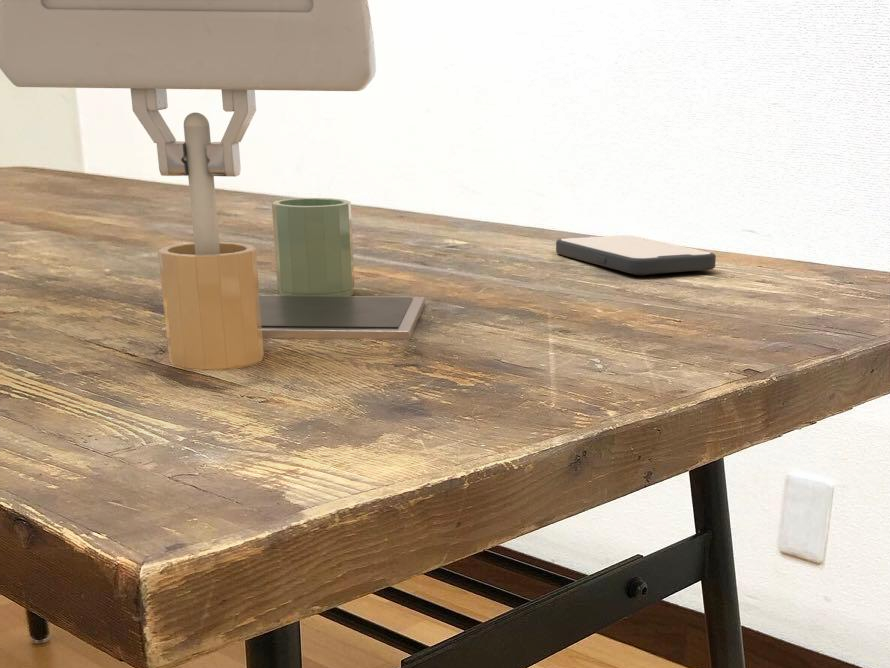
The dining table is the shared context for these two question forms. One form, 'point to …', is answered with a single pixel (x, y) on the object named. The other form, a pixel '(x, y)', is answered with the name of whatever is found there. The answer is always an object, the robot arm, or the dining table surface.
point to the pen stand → (211, 306)
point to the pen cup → (313, 247)
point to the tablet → (338, 317)
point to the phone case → (636, 254)
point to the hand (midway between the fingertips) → (200, 175)
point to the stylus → (201, 185)
